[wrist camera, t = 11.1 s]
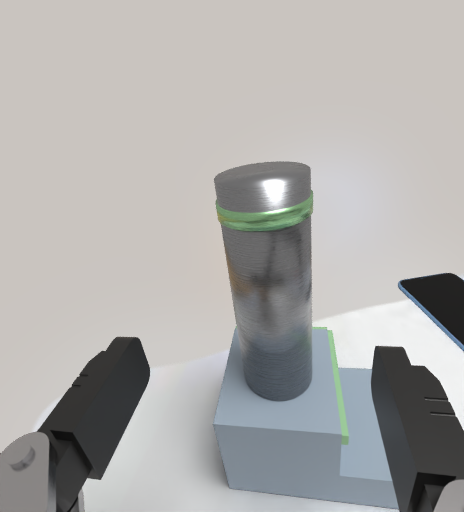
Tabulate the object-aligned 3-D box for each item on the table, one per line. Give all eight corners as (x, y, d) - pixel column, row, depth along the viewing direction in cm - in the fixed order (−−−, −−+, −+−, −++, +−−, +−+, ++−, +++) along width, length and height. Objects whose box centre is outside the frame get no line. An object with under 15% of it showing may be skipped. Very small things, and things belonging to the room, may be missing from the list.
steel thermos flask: (312, 347, 22) (310, 157, 16) (316, 405, 18) (316, 182, 12) (247, 345, 23) (222, 165, 17) (238, 400, 19) (200, 191, 13)
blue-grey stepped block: (388, 391, 26) (398, 327, 22) (426, 512, 19) (449, 442, 15) (245, 384, 28) (235, 325, 25) (229, 488, 21) (213, 424, 18)
